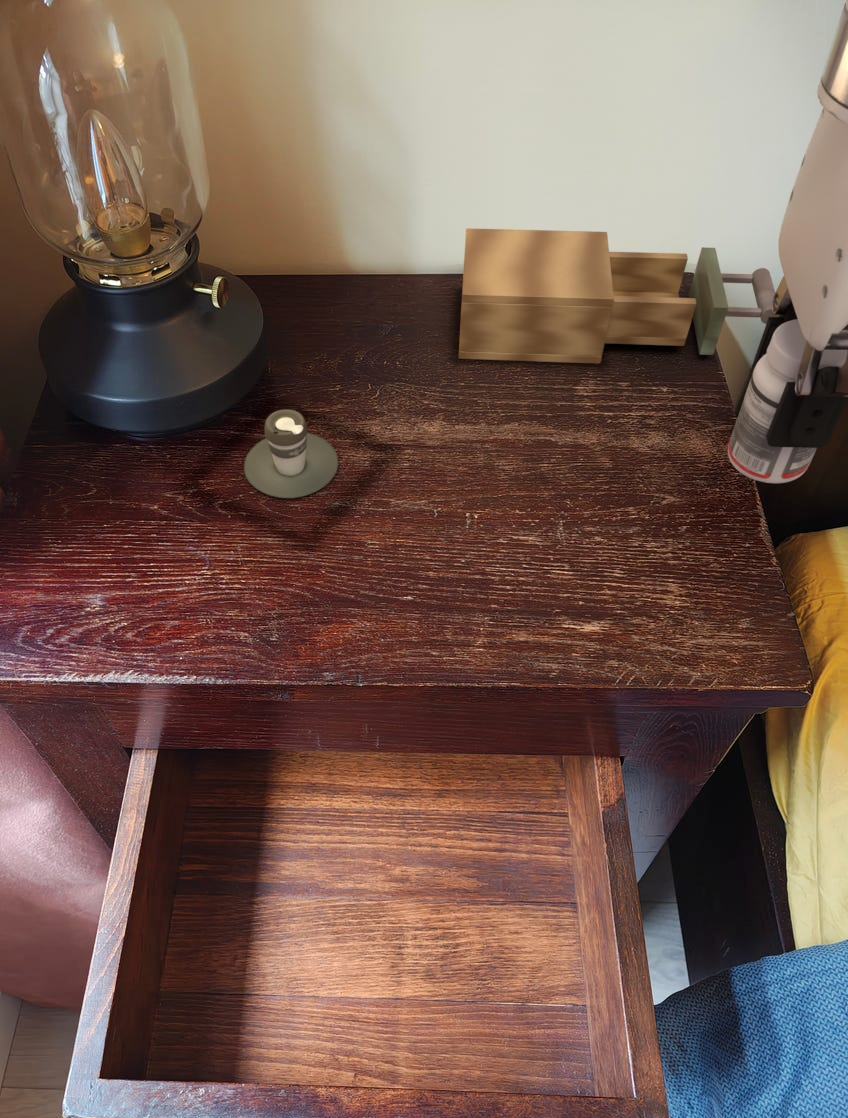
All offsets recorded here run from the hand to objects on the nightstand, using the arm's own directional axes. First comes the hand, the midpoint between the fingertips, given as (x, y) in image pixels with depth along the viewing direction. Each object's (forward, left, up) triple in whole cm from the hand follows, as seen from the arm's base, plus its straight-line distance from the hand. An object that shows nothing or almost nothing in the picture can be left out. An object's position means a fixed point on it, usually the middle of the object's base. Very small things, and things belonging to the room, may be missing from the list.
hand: (786, 407), depth 53 cm
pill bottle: (0, 0, -4) cm, 4 cm away
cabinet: (+12, -32, -18) cm, 38 cm away
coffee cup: (+32, -12, -18) cm, 38 cm away
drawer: (0, -32, -17) cm, 36 cm away
